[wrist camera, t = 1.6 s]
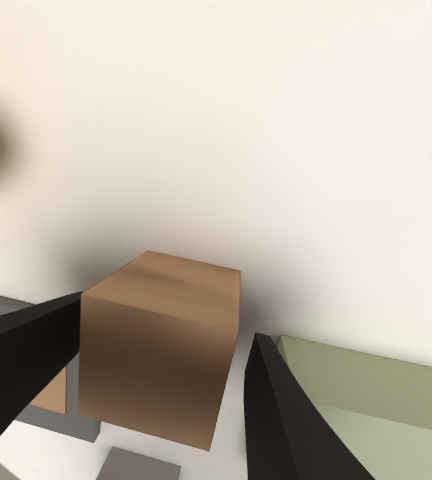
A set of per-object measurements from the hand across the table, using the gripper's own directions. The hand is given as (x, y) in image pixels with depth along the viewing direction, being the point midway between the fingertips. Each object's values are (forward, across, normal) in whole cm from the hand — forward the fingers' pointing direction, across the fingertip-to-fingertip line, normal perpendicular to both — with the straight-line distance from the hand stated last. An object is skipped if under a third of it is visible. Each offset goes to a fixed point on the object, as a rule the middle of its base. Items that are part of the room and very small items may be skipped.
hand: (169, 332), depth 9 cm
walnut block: (+3, 0, 0) cm, 3 cm away
